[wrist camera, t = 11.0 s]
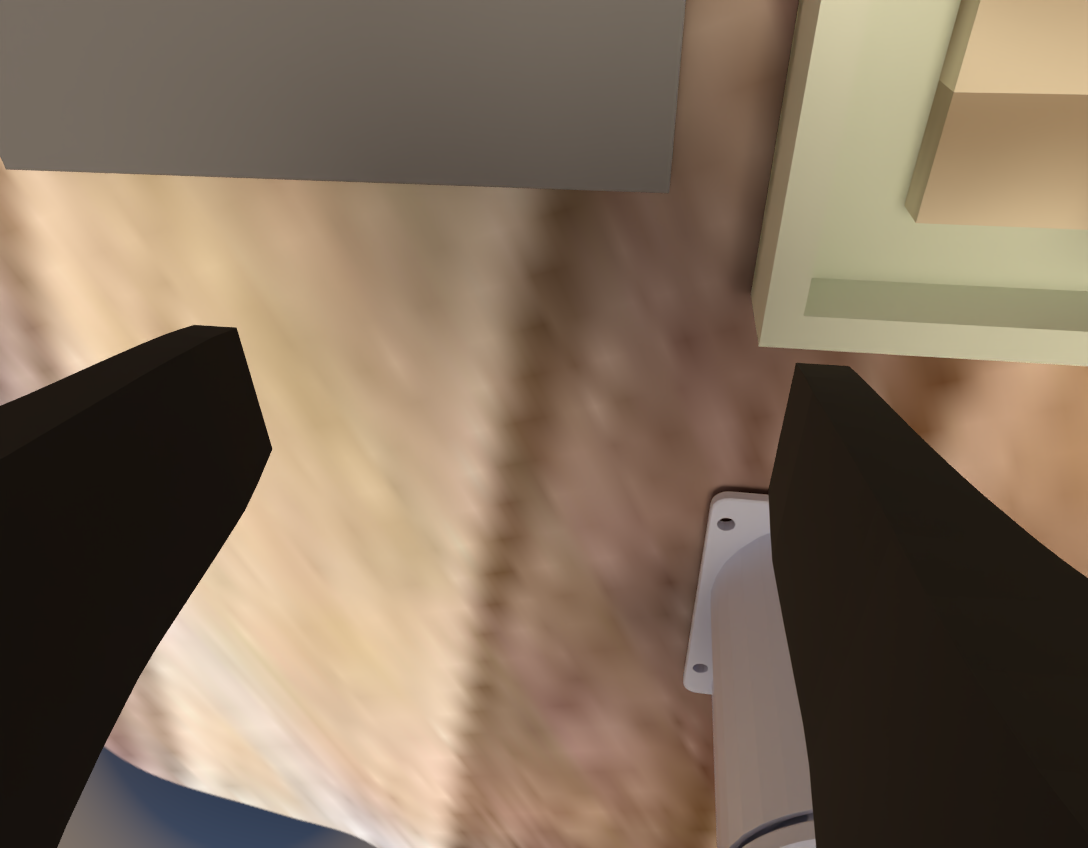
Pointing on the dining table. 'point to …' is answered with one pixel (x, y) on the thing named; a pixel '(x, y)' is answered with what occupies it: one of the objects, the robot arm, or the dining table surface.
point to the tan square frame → (1008, 120)
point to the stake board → (346, 90)
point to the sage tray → (895, 211)
